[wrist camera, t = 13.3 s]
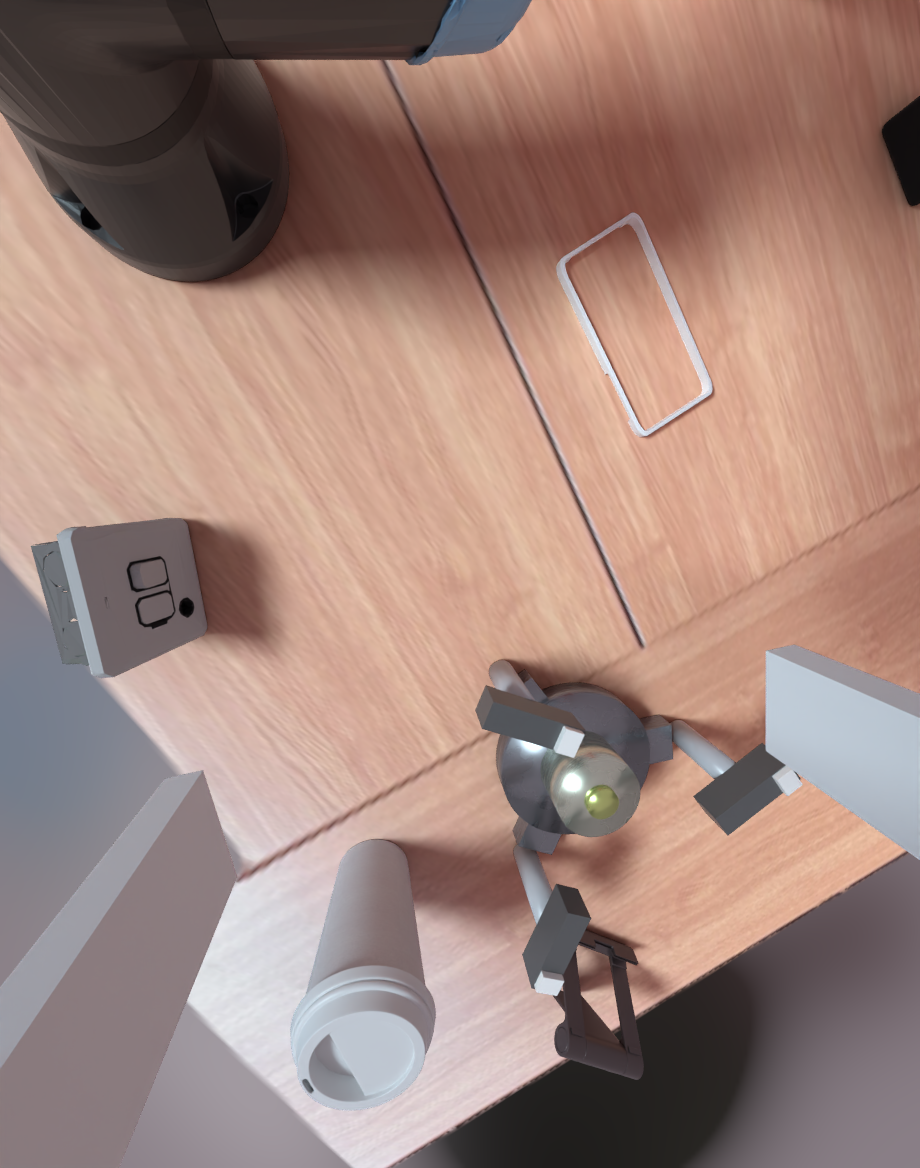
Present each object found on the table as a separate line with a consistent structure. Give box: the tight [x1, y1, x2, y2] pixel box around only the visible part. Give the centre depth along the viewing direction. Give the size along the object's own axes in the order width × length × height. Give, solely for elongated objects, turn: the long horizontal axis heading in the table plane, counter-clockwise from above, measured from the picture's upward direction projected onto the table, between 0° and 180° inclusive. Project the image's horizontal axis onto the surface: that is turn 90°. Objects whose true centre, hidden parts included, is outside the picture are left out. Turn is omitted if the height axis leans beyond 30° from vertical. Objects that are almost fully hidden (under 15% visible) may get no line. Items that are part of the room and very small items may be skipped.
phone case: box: [556, 212, 712, 437], centre depth 36 cm, size 7×1×15 cm
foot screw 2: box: [513, 845, 591, 996], centre depth 39 cm, size 7×2×11 cm, turn 158°
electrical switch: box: [31, 518, 207, 678], centre depth 31 cm, size 9×5×9 cm, turn 4°
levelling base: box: [496, 669, 673, 855], centre depth 40 cm, size 18×16×8 cm
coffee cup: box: [290, 839, 436, 1110], centre depth 36 cm, size 10×10×15 cm
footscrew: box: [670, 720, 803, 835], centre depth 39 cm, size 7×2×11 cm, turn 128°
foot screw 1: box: [475, 660, 586, 758], centre depth 35 cm, size 7×2×11 cm, turn 68°
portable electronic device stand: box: [553, 930, 643, 1080], centre depth 45 cm, size 9×8×8 cm
